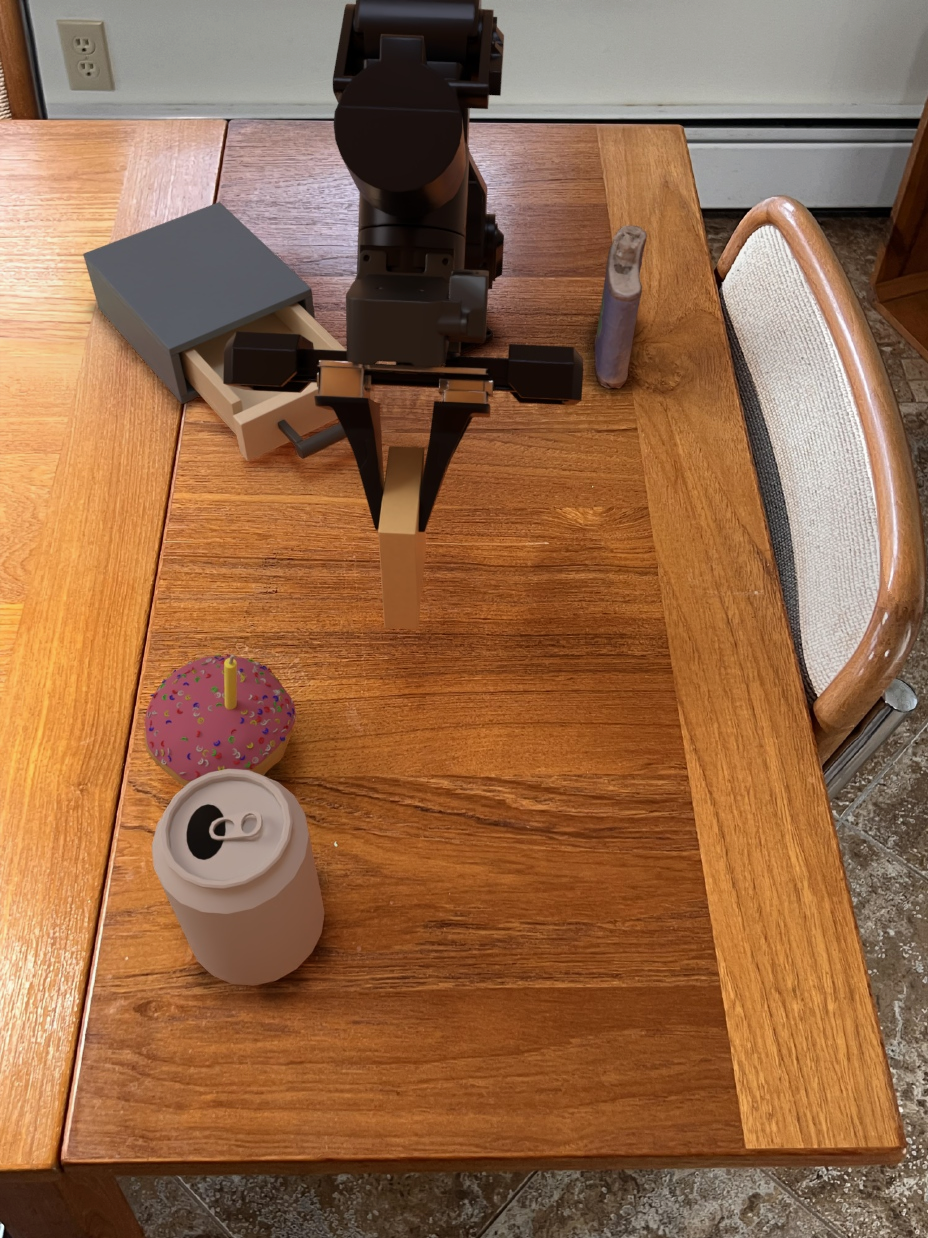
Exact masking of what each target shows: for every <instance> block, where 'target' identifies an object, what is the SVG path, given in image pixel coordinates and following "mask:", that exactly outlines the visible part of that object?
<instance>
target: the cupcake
mask: <svg viewBox="0 0 928 1238" xmlns="http://www.w3.org/2000/svg"><path fill="white" fill-rule="evenodd" d="M149 696H150V697H151V699H150V702H149V704H148V706H147V709H146V711H145V716H144V745H145V749H146V751H147V754H148V756H149V757H150V758H151V760H152V761H153V762H154V763H155V764H156V765H157V766H158V767H159V768H160V769H161V770H162V771H164V772H165V773H166V774H167V775H168V776H170V777H171V778H172V779H174V780H175V781H176V782H178V783H179V784H180V785H182V786H184V787H185V786H186V785H187V784H188V783H189V782H191V781H193V780H195V779H197V778H199V777H201V776H203V775H205V774H207V773H210V772H215V771H220V770H225V769H241V770H250V771H252V772H255V773H258V774H260V775H263V776H265V775H266V774H267V772H268V771H269V770H271V768H273V766H275V765H276V764H277V763H279V762H280V761H281V759H282V758H283V757H284V755H285V752H286V751H287V748H288V745H289V741H290V738H291V737H292V734H293V730H294V726H295V723H296V718H297V717H296V716H297V713H296V705H295V702H294V699H293V698H292V697H291V695H290V694H289V693H288V691H287V690H286V689H285V687H284V686H283V684H282V683H281V681H280V679H279V678H278V677H277V676H276V675H275V674H274V673H273V671H272V668H270V667H269V668H268V667H267V666H266V665H262V664H261V663H260V662H258V661H257V662H256V661H255V660H254V659H253V657H250V658H246V657H240V656H237V655H235V654H228V653H226V655H221V654H216V655H215V656H214V655H213V656H204V657H197V658H195V659H194V660H192V661H191V660H190V661H188V662H187V664H184V665H183V666H181V667H180V668H178V669H174V670H173V672H172V673H169V674H168V675H167V676H166V679H165V678H163V680H162V681H161V684H159V685H158V687H157V689H156V691H155V692H154V693H152V694H150V695H149Z"/></svg>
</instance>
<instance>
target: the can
mask: <svg viewBox="0 0 928 1238" xmlns="http://www.w3.org/2000/svg"><path fill="white" fill-rule="evenodd" d="M151 855H152V864H153V869H154V872H155V873H156V876H157V879H158V880H159V882H160V885H161V886H162V887H161V888H162V889H163V891H164V893H165V895H166V897H167V900H168V902H169V904H170V906H171V908H172V910H173V913H174V915H175V918H176V920H177V922H178V924H179V926H180V928H181V930H182V932H183V934H184V937H185V939H186V941H187V943H188V945H189V947H190V949H191V951H192V953H193V955H194V957H195V960H196V962H197V963H198V964H199V965H201V966H202V967H203V968H204V969H205V970H206V971H207V972H208V973H209V974H211V976H212V977H215V978H217V979H219V980H222V981H224V982H227V983H229V984H231V985H241V986H253V987H254V986H260V985H263V984H266V983H272V982H275V981H276V982H277V981H278V980H279V979H281V978H283V977H285V976H287V975H288V974H290V973H292V972H294V971H295V970H297V969H298V968H299V967H300V966H301V965H302V964H303V963H304V961H306V960H307V958H308V957H309V956H310V955H311V954H312V953H313V952H314V949H315V947H316V946H317V944H318V941H319V940H320V937H321V936H322V932H323V926H324V920H325V906H324V902H323V896H322V890H321V886H320V881H319V876H318V871H317V867H316V866H317V865H316V861H315V857H314V851H313V847H312V841H311V836H310V831H309V826H308V821H307V816H306V813H305V811H304V809H303V808H302V806H301V804H300V803H299V801H298V799H297V798H296V796H295V794H293V793H292V792H291V791H289V789H287V788H286V787H284V785H282V784H281V783H280V782H279V781H277V780H274V779H272V778H269V777H267V776H265V775H264V776H263V775H260V774H258V773H255V772H252V771H250V770H241V769H225V770H220V771H215V772H210V773H207V774H205V775H203V776H201V777H199V778H197V779H195V780H193V781H191V782H189V783H188V784H187V785H186V786H184V787H182V788H181V789H180V790H179V791H178V792H177V793H175V795H174V796H173V797H172V798H171V800H170V802H169V803H168V805H167V807H166V808H165V810H164V812H163V814H162V815H161V817H160V819H159V820H158V821H157V823H156V827H155V831H154V835H153V840H152V843H151Z"/></svg>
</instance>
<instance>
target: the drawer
mask: <svg viewBox="0 0 928 1238" xmlns="http://www.w3.org/2000/svg"><path fill="white" fill-rule="evenodd" d="M236 331H237V332H259V333H281V334H300V335H302V336H303V337H305V338H306V339H308V340H309V341H311V342H313V346H314V349H319V350H341V351H347V348H345V347H344V346H343V344H341V343H340V342H339V341H338V340H337V339H336V338H335V337H334V336H333V335H332V334H331V333H329V331H328V330H326V328H324V327H323V326H322V325H321V324H320V322H318V321H317V320H316V318H315V319H314V318H313V317H312V316H311V315H310V314H309V313H308V312H307V311H305V310H304V309H303V308H302V307H301V306H300V305H299V304H298V303H297V302H296V303H294V304H291V305H289V306H287V307H284V308H282V309H280V310H277V311H275V312H273V313H270V314H268V315H266V316H263V317H261V318H259V319H256V320H254V321H252V322H249V323H247V324H245V325H242V326H240V327H238V328H235V329H233V330H231V331H228V332H226V333H224V334H221V335H219V336H217V337H214V338H212V339H210V340H207V341H205V342H203V343H200V344H198V345H196V346H193V347H191V348H189V349H186V350H184V351H182V352H179V357H180V362H181V366H182V370H183V375H184V377H185V378H186V379H187V381H188V382H189V383H190V384H191V385H192V386H193V387H194V388H195V390H196V391H197V392H198V393H199V394H200V395H201V396H200V397H201V398H202V399H203V400H204V401H205V402H206V403H207V404H208V406H209V407H210V408H211V409H212V411H214V412H215V413H216V415H217V416H218V417H219V418H220V419H221V420H222V422H224V424H226V426H227V427H228V428H229V429H230V430H231V431H232V432H233V433H234V435H235V436H236V439H237V444H238V449H239V453H240V455H241V456H242V457H243V458H244V459H245V460H246V461H247V462H250V461H253V460H255V459H257V458H259V457H261V456H263V455H265V454H267V453H269V452H271V451H274V450H276V449H278V448H280V447H282V446H283V445H286V444H288V443H290V442H291V443H292V445H293V446H294V450H295V453H296V454H297V456H298V457H299V459H301V460H305V459H306V458H308V457H310V456H312V455H315V454H317V453H319V452H320V451H321V452H322V451H323V450H325V449H327V448H329V447H331V446H333V445H335V444H337V443H339V442H341V441H343V440H345V439H347V436H346V434H345V432H344V429H343V427H342V425H341V423H340V421H339V422H338V423H337V422H336V423H335V424H333V425H331V426H329V427H327V428H325V429H323V430H321V431H318V432H317V433H315V434H313V435H310V436H309V437H306V438H305V439H303V438H302V437H303V436H304V435H307V434H309V433H311V432H313V431H315V430H317V429H319V428H322V427H323V426H326V425H327V424H330V423H332V422H334V421H336V420H339V419H338V417H337V416H336V414H335V412H334V410H327V409H324V408H321V407H317V406H315V399H314V396H318V387H317V383H311V384H309V385H308V386H307V387H306V388H305V389H304V390H303V391H302V392H301V393H292V392H271V391H252V390H243V389H240V388H236V387H233V386H229V385H226V384H223V373H224V350H225V347H226V343H227V341H228V340H229V339H230V338H231V337H232V336H233V335H234V334H235V333H236ZM370 399H371V400H373V401H375V391H374V392H373V391H371V394H370Z"/></svg>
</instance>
